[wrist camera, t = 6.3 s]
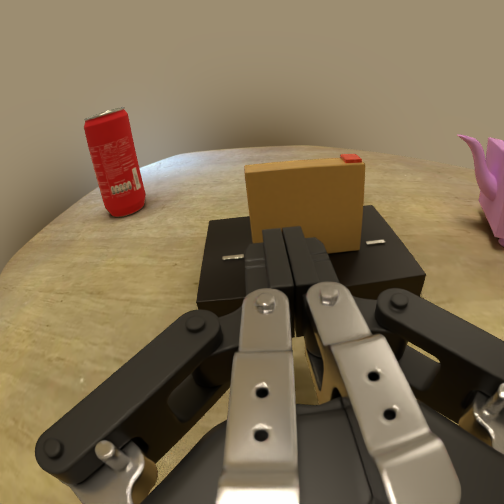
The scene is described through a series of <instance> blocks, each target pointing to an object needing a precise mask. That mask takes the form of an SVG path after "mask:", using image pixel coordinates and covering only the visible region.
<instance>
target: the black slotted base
mask: <svg viewBox="0 0 504 504" xmlns="http://www.w3.org/2000/svg"><path fill="white" fill-rule="evenodd" d="M252 243H253V241H252V232H251V224H250V216H247V217H238V218H229V219H220V220H212V221H209V226H208V231H207V237H206V243H205V249H204V255H203V262H202V268H201V274H200V281H199V287H198V294H197V301H196V303H197V306H198V310H208V311H211V312H213V313H214V314H215V315H217V317H221V316H224V315H227V314H230V313H232V312H234V311H236V310H237V309H239V308H240V307H241V306H242V304H243V300H244V299H245V297H246V281H245V250H246V249H247V247H248V246H249V244H252ZM328 256H329V258H330V261H331V263H332V266H333V268H334V271H335V273H336V275H337V278H338V280H339V283H340V284H342V285H344V286H345V287H346V288H347V289H348V290H349V291H350V293H351V295H352V296H355V297H358V298H363V299H372V300H377V299H378V296H379V295H380V293H382V292H383V291H385V290H387V289H391V288H400V289H404V290H407V291H409V292H411V293H413V294H415V295H417V296H419V297H420V294H421V291H422V287H423V284H424V280H425V276H426V274H425V272H424V271H423V270H422V268H421V267H420V265H419V264H418V263H417V261H416V260H415V259H414V257H413V256H412V255H411V253H410V252H409V251H408V249H407V248H406V247H405V245H404V244H403V243H402V241H401V240H400V239H399V237H398V236H397V235H396V234H395V232H394V231H393V230H392V229H391V227H390V226H389V225H388V224H387V222H386V221H385V220H384V219H383V217H382V216H381V215H380V214H379V213H378V211H377V210H376V209H375V208H374V207H373V205H368V206H363V216H362V229H361V241H360V250H356V251H347V252H338V253H329V254H328Z"/></svg>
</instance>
